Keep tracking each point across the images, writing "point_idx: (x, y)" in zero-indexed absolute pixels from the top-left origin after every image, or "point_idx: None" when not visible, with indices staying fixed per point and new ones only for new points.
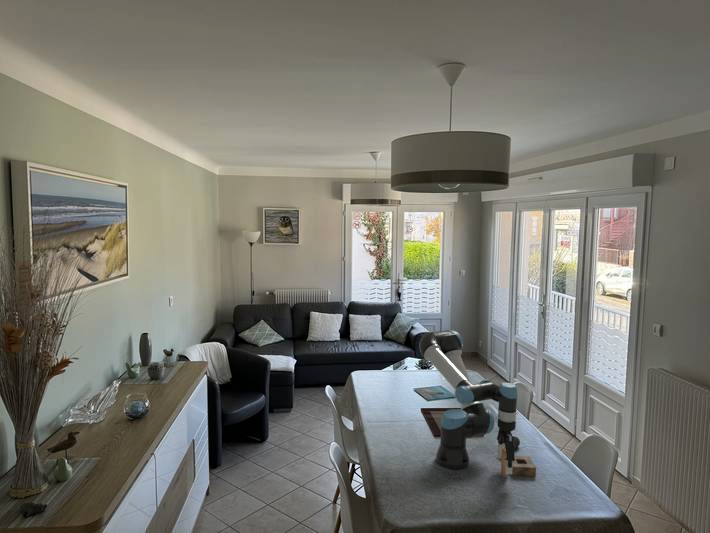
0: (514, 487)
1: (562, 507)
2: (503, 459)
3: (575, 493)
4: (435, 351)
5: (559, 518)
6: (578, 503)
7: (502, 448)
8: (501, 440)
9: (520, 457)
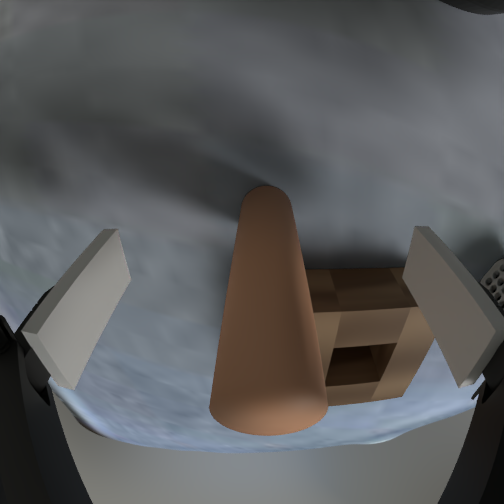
0: (127, 244)
1: None
2: (231, 286)
3: (171, 423)
4: None
5: None
6: (113, 407)
7: (451, 335)
8: (489, 428)
9: (407, 366)
